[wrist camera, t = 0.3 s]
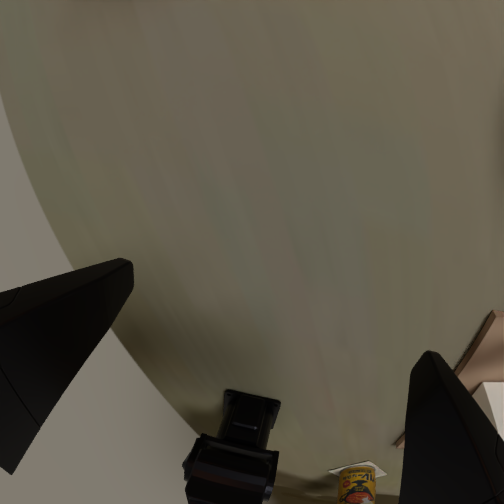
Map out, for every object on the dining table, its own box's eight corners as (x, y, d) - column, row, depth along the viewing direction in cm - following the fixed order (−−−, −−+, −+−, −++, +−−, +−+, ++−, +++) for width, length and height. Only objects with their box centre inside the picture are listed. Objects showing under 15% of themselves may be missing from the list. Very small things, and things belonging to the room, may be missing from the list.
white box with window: (485, 416, 26) (496, 466, 20) (452, 418, 27) (461, 472, 20) (515, 382, 23) (534, 434, 16) (482, 382, 24) (500, 440, 17)
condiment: (368, 459, 36) (365, 527, 26) (387, 473, 38) (386, 533, 28) (328, 469, 40) (319, 532, 29) (350, 482, 42) (345, 538, 31)
